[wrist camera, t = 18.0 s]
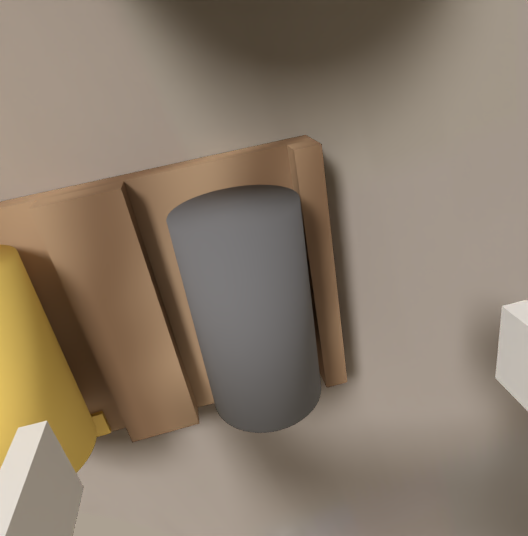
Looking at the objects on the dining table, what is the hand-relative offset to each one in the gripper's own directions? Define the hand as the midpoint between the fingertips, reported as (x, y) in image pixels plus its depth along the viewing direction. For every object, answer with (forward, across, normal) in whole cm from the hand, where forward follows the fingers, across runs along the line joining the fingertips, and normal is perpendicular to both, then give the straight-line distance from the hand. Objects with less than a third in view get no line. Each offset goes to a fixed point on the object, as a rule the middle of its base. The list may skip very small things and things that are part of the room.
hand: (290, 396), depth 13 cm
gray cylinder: (+4, 0, 0) cm, 4 cm away
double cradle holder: (+7, +5, 0) cm, 9 cm away
